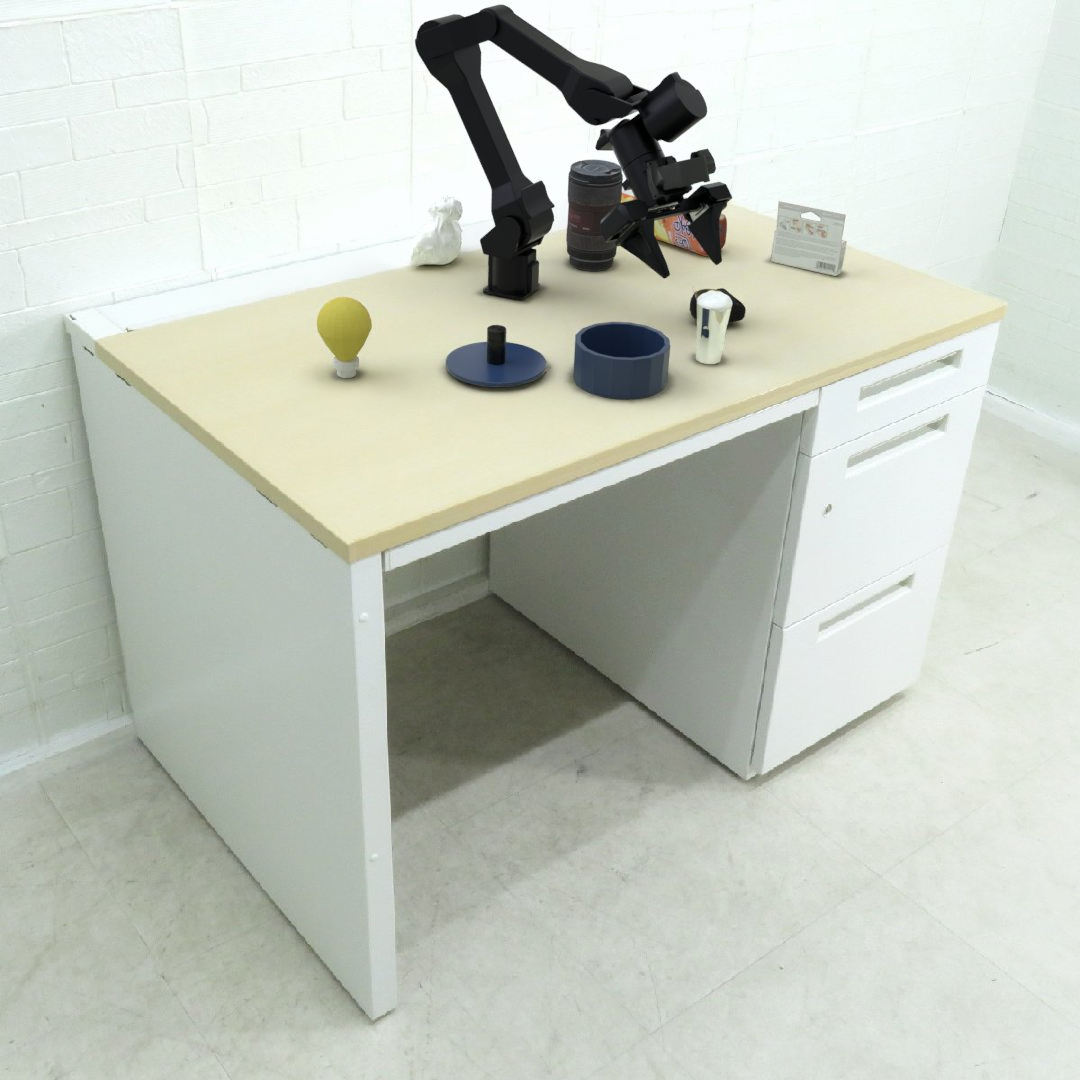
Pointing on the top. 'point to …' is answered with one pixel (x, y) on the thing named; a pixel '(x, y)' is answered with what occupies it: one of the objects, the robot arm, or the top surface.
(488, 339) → the tin lid
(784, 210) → the ink cartridge box
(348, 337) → the light bulb
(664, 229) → the snack package
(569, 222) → the camera lens
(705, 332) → the milkshake
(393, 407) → the top surface
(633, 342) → the tin
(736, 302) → the tape measure
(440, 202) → the bust
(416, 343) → the top surface
